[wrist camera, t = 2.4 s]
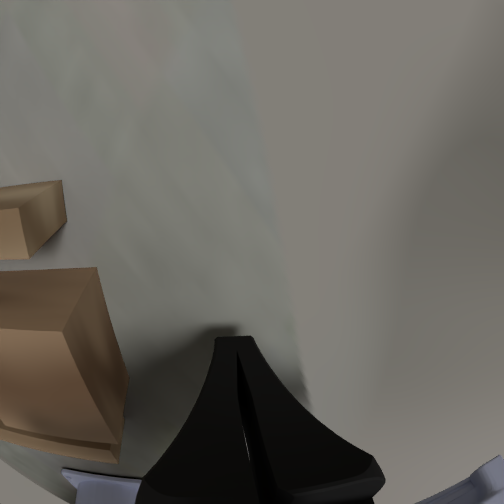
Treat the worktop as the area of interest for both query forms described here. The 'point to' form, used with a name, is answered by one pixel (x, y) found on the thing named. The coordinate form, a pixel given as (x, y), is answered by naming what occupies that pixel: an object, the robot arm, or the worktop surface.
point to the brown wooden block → (60, 356)
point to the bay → (24, 247)
